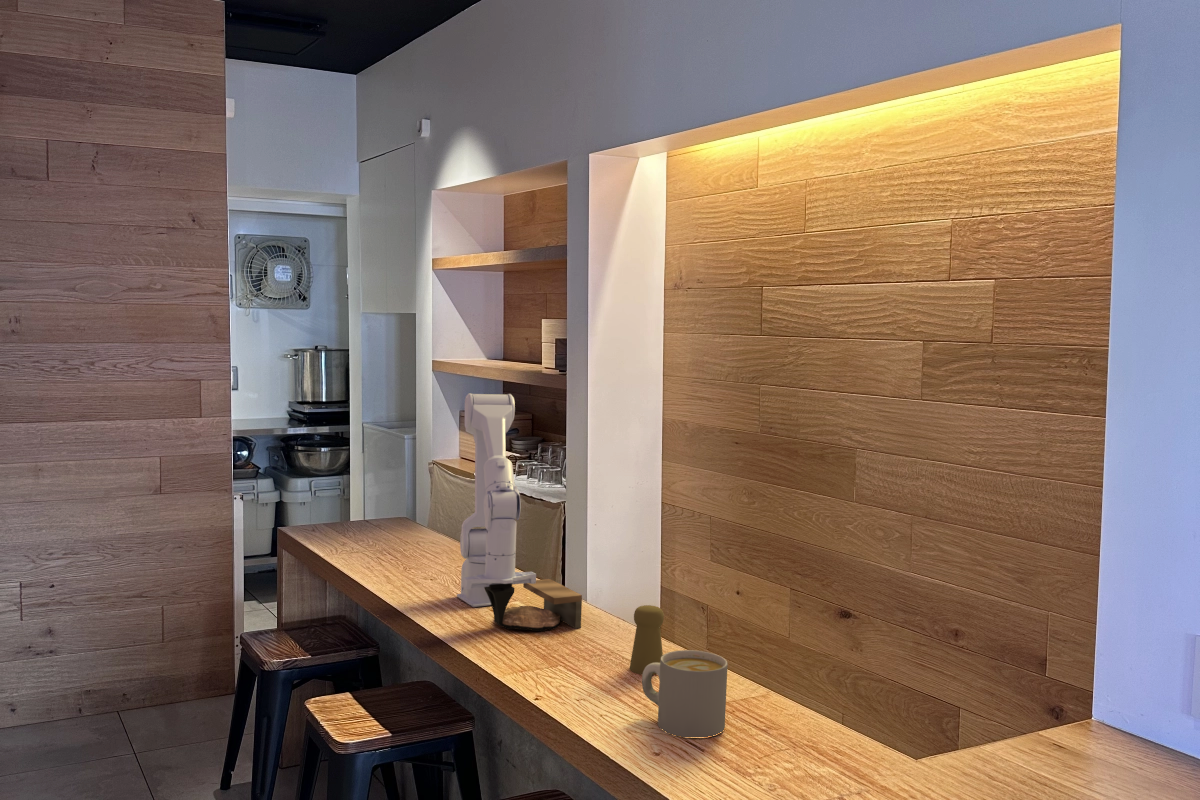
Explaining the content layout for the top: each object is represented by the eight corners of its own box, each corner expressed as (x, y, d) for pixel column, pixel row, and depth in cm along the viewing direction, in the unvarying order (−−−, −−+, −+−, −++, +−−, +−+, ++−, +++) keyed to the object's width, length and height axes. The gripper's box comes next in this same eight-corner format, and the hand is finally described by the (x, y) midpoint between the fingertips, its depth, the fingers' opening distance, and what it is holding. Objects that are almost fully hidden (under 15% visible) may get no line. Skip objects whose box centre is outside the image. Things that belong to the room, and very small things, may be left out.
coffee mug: (738, 727, 156) (741, 661, 155) (695, 745, 148) (698, 676, 148) (670, 702, 165) (672, 640, 164) (627, 717, 158) (629, 653, 157)
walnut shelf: (522, 612, 213) (523, 581, 212) (548, 609, 216) (549, 578, 215) (553, 631, 201) (554, 598, 200) (580, 628, 204) (582, 595, 203)
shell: (556, 635, 199) (557, 616, 198) (490, 631, 199) (491, 613, 199) (561, 618, 210) (562, 600, 210) (499, 614, 211) (499, 597, 210)
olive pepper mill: (622, 667, 181) (624, 605, 180) (647, 661, 185) (650, 600, 184) (645, 677, 176) (648, 613, 176) (671, 670, 180) (674, 608, 179)
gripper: (473, 559, 193) (471, 632, 194) (543, 554, 200) (541, 624, 201) (459, 552, 200) (457, 622, 200) (528, 547, 207) (526, 615, 207)
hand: (498, 622), depth 201 cm, fingers closed, pressing on shell
